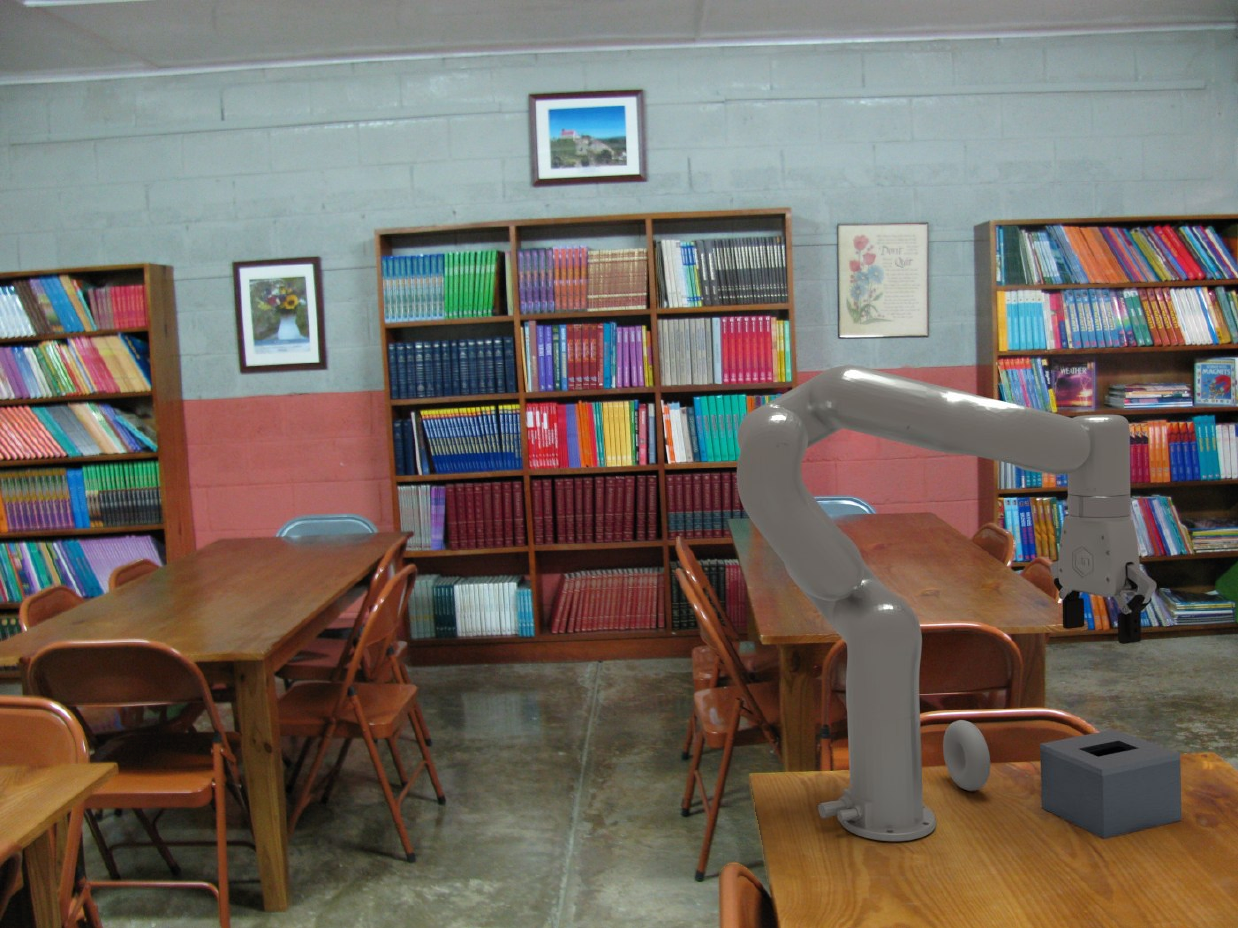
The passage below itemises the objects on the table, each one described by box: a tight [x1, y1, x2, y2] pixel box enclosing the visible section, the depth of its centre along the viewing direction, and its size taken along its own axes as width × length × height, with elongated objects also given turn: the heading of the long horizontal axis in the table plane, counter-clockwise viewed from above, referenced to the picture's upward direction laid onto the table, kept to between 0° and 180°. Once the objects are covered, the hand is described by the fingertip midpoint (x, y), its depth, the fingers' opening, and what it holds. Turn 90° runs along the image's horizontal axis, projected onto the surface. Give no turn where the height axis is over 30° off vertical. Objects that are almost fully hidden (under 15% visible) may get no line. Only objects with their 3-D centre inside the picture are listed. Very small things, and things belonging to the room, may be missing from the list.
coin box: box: [1039, 729, 1183, 840], centre depth 136 cm, size 13×11×9 cm
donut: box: [942, 719, 991, 792], centre depth 147 cm, size 10×4×10 cm, turn 10°
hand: (1100, 634), depth 136 cm, fingers open, 9 cm apart
